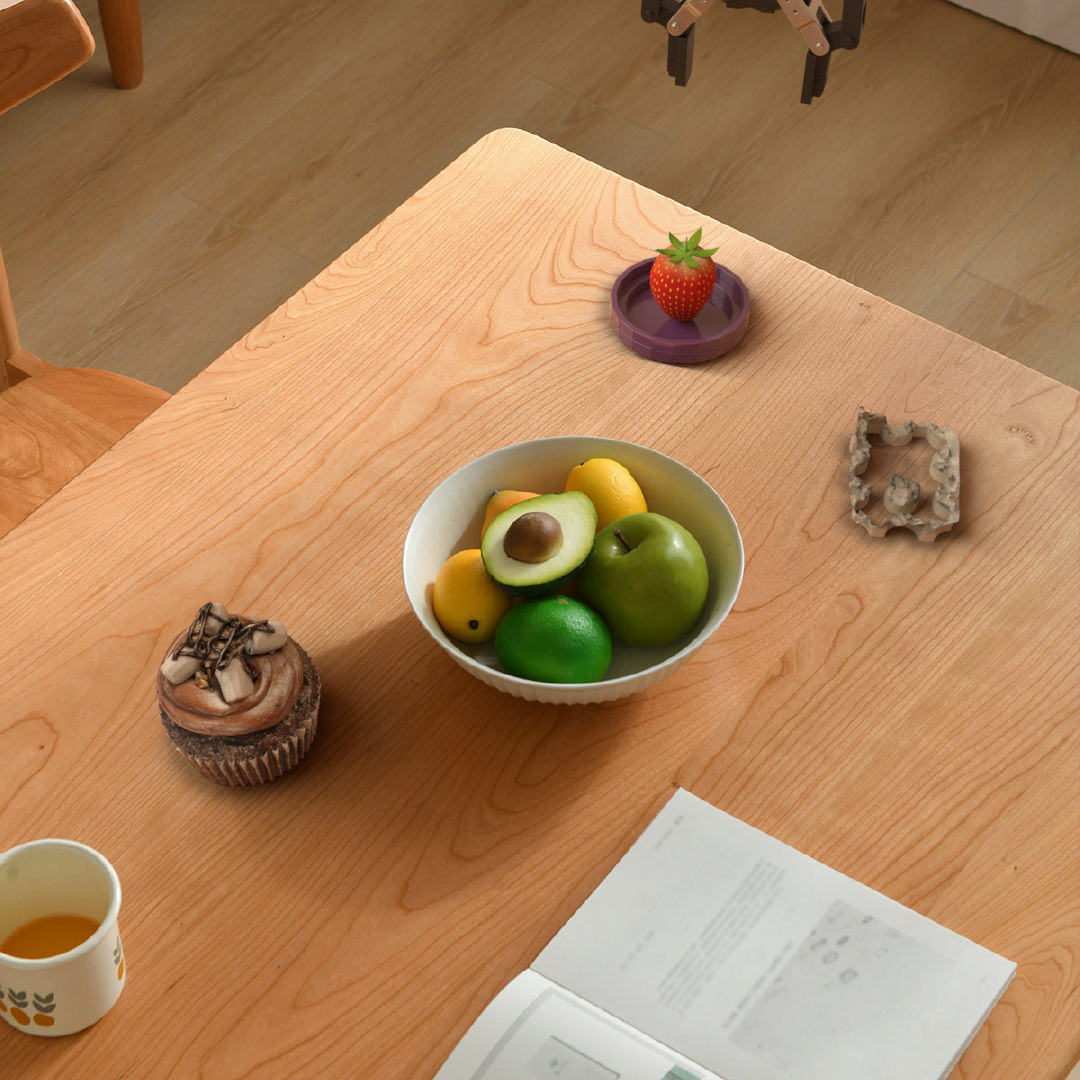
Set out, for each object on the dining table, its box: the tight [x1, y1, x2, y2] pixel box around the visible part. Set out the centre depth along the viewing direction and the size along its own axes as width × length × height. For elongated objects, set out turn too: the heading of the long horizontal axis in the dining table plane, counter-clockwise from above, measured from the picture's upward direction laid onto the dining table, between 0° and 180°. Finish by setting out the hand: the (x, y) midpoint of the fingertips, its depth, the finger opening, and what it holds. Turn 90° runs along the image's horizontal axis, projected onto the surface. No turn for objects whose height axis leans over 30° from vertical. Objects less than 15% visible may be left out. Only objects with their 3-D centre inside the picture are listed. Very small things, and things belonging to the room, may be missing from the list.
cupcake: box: [154, 601, 322, 787], centre depth 80 cm, size 10×10×10 cm
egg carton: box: [848, 405, 961, 543], centre depth 95 cm, size 11×8×4 cm
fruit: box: [650, 227, 721, 322], centre depth 106 cm, size 5×5×8 cm
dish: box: [609, 255, 752, 364], centre depth 108 cm, size 11×11×3 cm
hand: (744, 89), depth 92 cm, fingers open, 8 cm apart
